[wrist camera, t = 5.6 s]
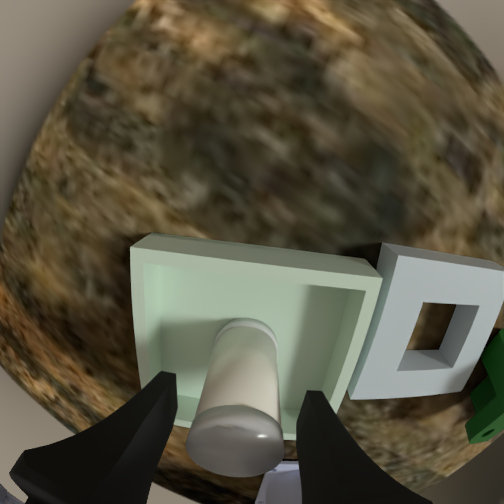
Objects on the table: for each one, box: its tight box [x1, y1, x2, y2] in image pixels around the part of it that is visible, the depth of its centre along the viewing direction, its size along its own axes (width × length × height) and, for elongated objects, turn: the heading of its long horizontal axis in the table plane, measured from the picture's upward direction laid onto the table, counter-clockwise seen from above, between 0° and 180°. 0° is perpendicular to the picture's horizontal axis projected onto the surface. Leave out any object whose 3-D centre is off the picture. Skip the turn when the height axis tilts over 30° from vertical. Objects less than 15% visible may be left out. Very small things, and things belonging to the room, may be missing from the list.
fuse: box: [186, 318, 284, 477], centre depth 11 cm, size 3×3×7 cm
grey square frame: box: [347, 243, 504, 399], centre depth 13 cm, size 8×8×2 cm
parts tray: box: [130, 233, 383, 440], centre depth 14 cm, size 10×10×2 cm
